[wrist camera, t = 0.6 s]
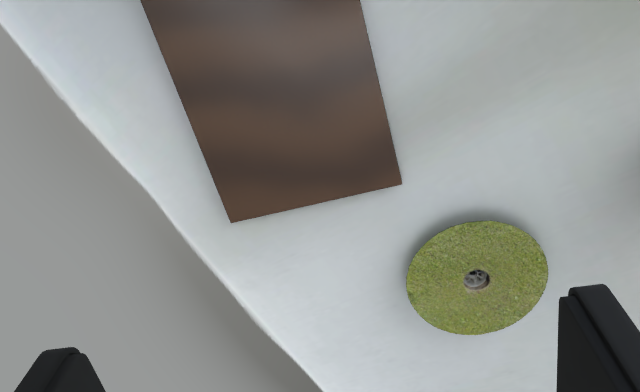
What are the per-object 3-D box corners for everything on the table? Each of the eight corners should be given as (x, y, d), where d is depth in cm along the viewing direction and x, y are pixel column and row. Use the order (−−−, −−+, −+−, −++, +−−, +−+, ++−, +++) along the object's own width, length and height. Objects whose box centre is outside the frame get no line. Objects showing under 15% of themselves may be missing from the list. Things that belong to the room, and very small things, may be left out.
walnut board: (129, -39, 35) (124, -38, 34) (335, -106, 33) (334, -106, 32) (232, 218, 43) (230, 223, 43) (401, 179, 41) (402, 184, 40)
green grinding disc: (404, 322, 47) (406, 337, 46) (403, 212, 42) (406, 225, 41) (532, 318, 47) (540, 333, 45) (547, 206, 42) (556, 218, 40)
